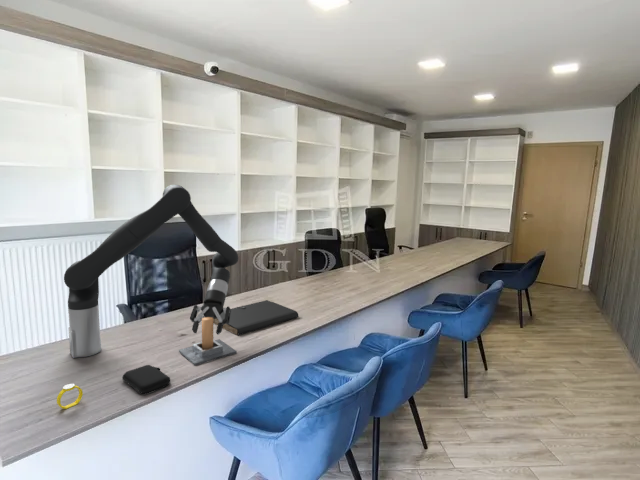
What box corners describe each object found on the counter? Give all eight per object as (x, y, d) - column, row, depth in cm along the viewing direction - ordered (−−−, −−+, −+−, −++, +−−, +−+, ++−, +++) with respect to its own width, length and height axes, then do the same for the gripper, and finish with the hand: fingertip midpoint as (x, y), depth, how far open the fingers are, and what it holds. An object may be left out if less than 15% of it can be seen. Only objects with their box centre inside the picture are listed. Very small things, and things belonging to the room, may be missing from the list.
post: (204, 353, 137) (204, 321, 136) (200, 349, 140) (199, 318, 139) (215, 350, 140) (215, 319, 138) (210, 347, 143) (210, 316, 141)
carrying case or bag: (176, 384, 118) (153, 369, 127) (176, 375, 118) (153, 360, 127) (142, 398, 110) (120, 381, 119) (141, 388, 109) (119, 371, 119)
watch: (61, 413, 102) (58, 393, 101) (56, 410, 103) (53, 390, 102) (85, 401, 107) (82, 382, 106) (80, 398, 108) (77, 379, 107)
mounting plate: (194, 365, 130) (194, 357, 129) (178, 351, 140) (178, 344, 140) (236, 353, 140) (236, 345, 140) (219, 341, 151) (219, 334, 150)
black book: (266, 299, 196) (298, 311, 179) (266, 306, 196) (298, 319, 180) (208, 313, 172) (238, 328, 156) (208, 321, 173) (238, 338, 156)
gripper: (195, 288, 145) (183, 327, 135) (232, 289, 144) (222, 329, 134) (201, 297, 151) (190, 336, 141) (236, 299, 150) (227, 338, 140)
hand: (206, 333), depth 138 cm, fingers open, 8 cm apart
